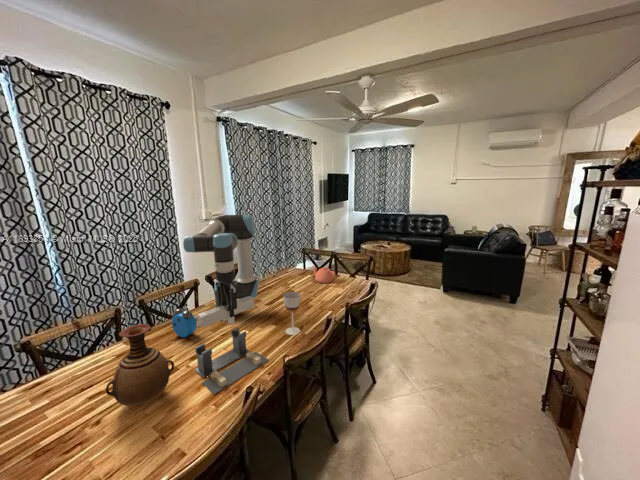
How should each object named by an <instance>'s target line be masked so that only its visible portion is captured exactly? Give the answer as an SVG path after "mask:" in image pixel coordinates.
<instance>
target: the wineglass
mask: <svg viewBox="0 0 640 480" xmlns="http://www.w3.org/2000/svg"><path fill="white" fill-rule="evenodd" d="M282 296H283V297H282V298H283V304H284V307H285V308H286V309H287V311H290V312H291V327H288V328H286V329H285V333H286V334H287V335H290V336H294V335H295V336H296V335H298V334H300V332H301V330H300V329H301V328H299V327H295V326H294V311H297V310H298V309H299V308H300V304H301V298H302V297H301V293H300V292H298V291H287V292H285V293H283V295H282Z"/></svg>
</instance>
